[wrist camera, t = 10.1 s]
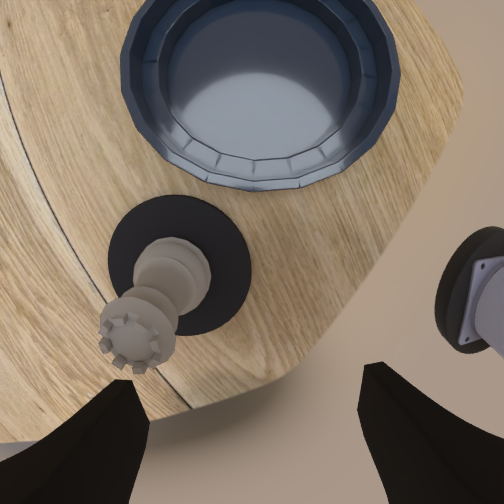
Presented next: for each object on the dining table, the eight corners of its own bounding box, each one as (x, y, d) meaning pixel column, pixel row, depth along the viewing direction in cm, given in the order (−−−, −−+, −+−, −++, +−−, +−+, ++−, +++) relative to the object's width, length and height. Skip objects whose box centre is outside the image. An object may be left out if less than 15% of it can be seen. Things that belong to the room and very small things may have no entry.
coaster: (243, 186, 17) (243, 186, 16) (257, 328, 19) (257, 332, 19) (98, 205, 17) (95, 206, 16) (128, 334, 19) (126, 337, 19)
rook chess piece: (177, 318, 19) (141, 407, 11) (126, 268, 18) (59, 336, 10) (228, 274, 18) (213, 356, 10) (173, 218, 17) (116, 266, 9)
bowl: (351, -12, 13) (371, -42, 9) (379, 178, 16) (411, 184, 13) (145, 2, 13) (124, -27, 9) (157, 196, 17) (131, 207, 13)
